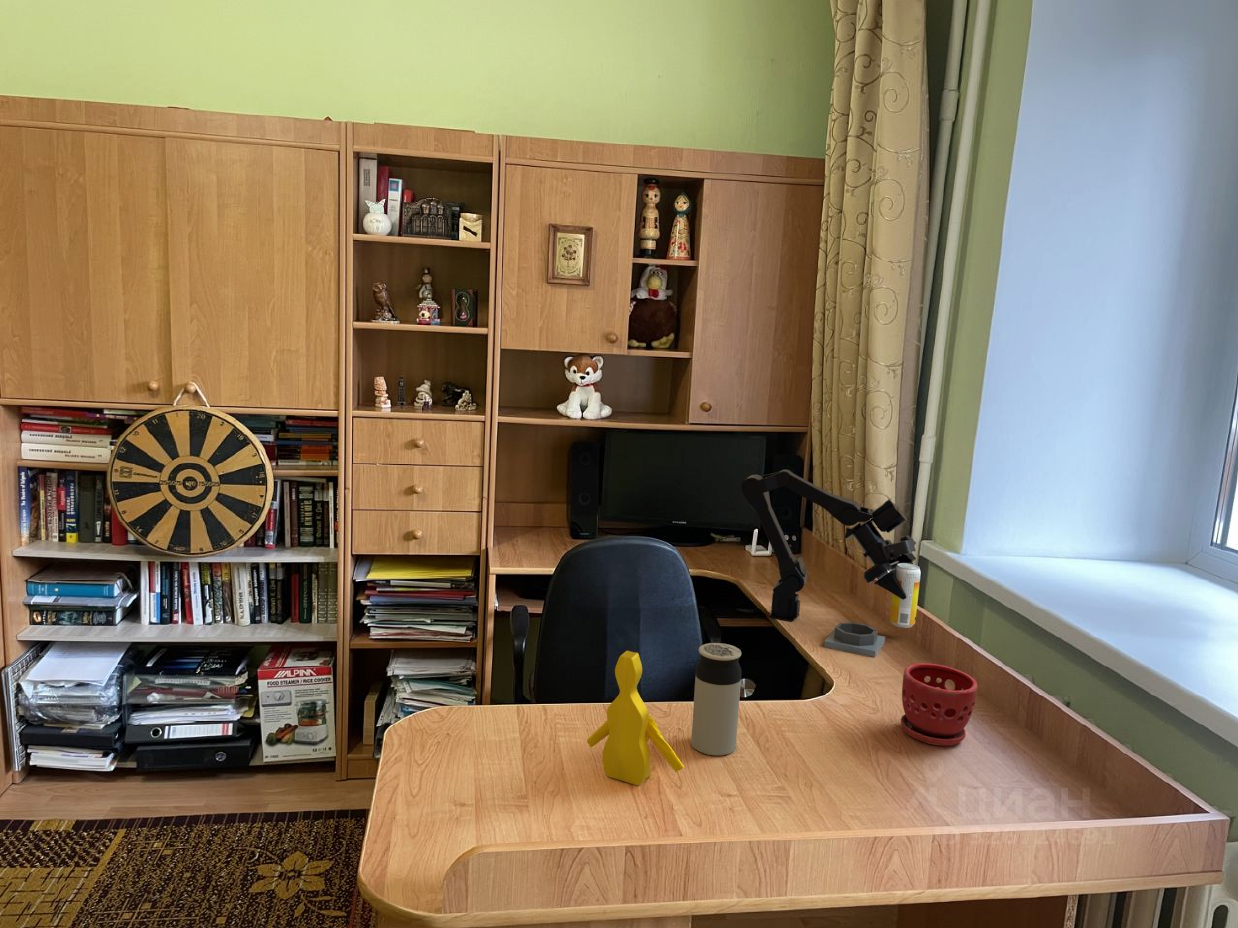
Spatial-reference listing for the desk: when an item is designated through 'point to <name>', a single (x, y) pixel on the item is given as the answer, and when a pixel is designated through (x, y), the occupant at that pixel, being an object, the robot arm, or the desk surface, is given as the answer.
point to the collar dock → (855, 639)
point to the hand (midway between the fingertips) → (910, 596)
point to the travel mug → (716, 699)
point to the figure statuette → (630, 729)
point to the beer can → (906, 609)
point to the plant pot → (937, 703)
